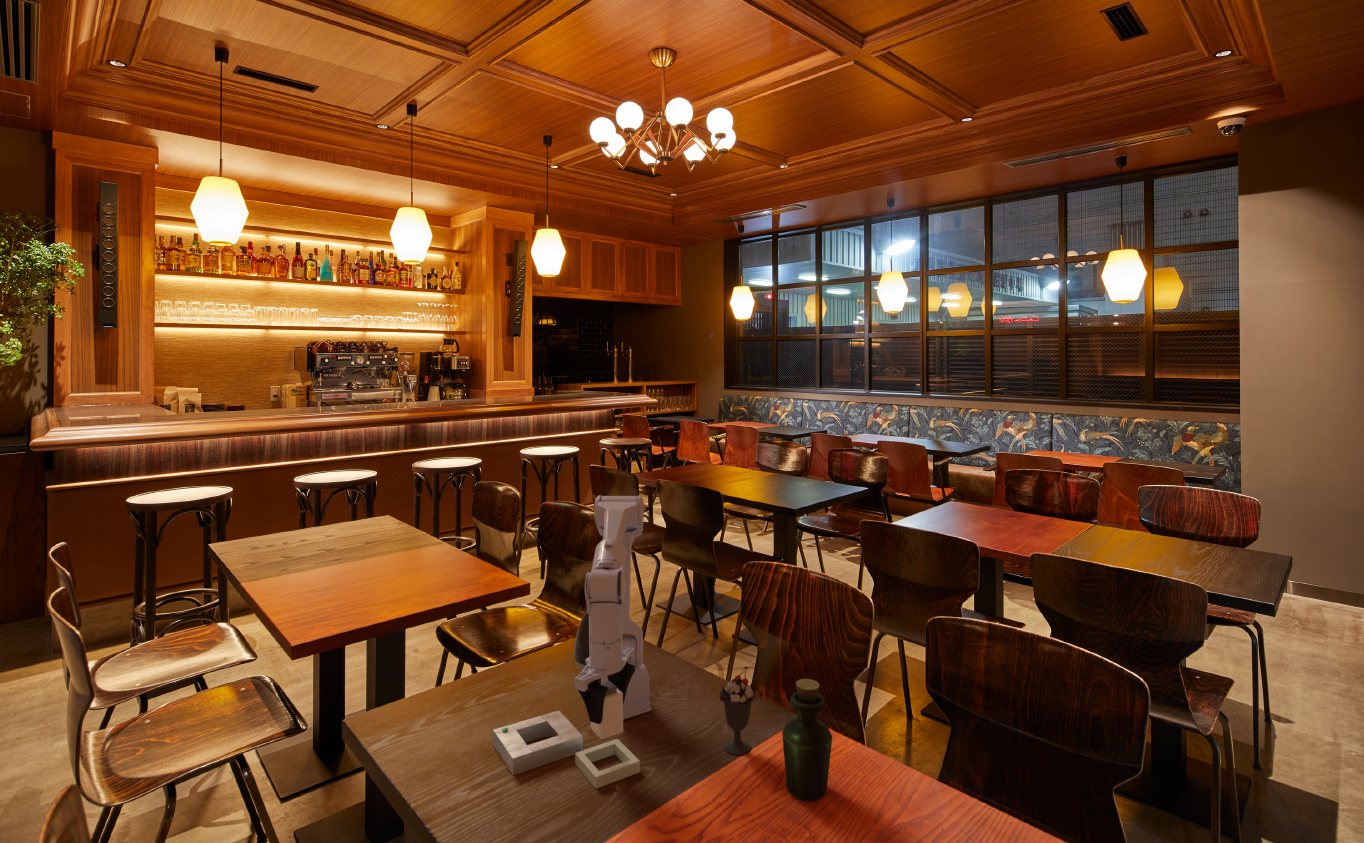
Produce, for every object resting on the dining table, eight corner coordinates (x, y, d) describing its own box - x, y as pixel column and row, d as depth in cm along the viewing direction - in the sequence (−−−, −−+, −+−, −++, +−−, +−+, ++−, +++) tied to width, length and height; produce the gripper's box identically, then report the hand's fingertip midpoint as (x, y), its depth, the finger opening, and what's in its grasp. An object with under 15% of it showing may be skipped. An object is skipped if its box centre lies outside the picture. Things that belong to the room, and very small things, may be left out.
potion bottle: (819, 771, 114) (820, 670, 113) (840, 801, 106) (841, 693, 105) (774, 777, 112) (775, 675, 111) (792, 808, 104) (793, 698, 103)
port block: (559, 724, 129) (559, 708, 129) (582, 751, 120) (582, 734, 120) (493, 745, 122) (493, 728, 122) (513, 775, 113) (512, 756, 113)
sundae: (760, 742, 123) (760, 664, 122) (748, 761, 117) (748, 679, 116) (727, 734, 126) (727, 658, 125) (714, 752, 120) (714, 672, 119)
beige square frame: (617, 749, 121) (617, 738, 121) (639, 772, 114) (639, 761, 114) (575, 763, 116) (575, 753, 116) (595, 788, 109) (595, 777, 109)
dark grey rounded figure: (599, 685, 146) (598, 618, 145) (564, 674, 151) (563, 609, 150) (627, 668, 154) (627, 605, 153) (593, 658, 160) (593, 597, 159)
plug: (612, 721, 118) (611, 678, 117) (623, 732, 114) (622, 687, 113) (590, 728, 115) (590, 684, 115) (601, 739, 112) (600, 693, 111)
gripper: (612, 619, 122) (613, 690, 123) (560, 647, 109) (561, 726, 110) (644, 627, 118) (644, 700, 119) (593, 657, 106) (594, 738, 107)
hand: (606, 713), depth 114 cm, fingers closed on plug, 6 cm apart
